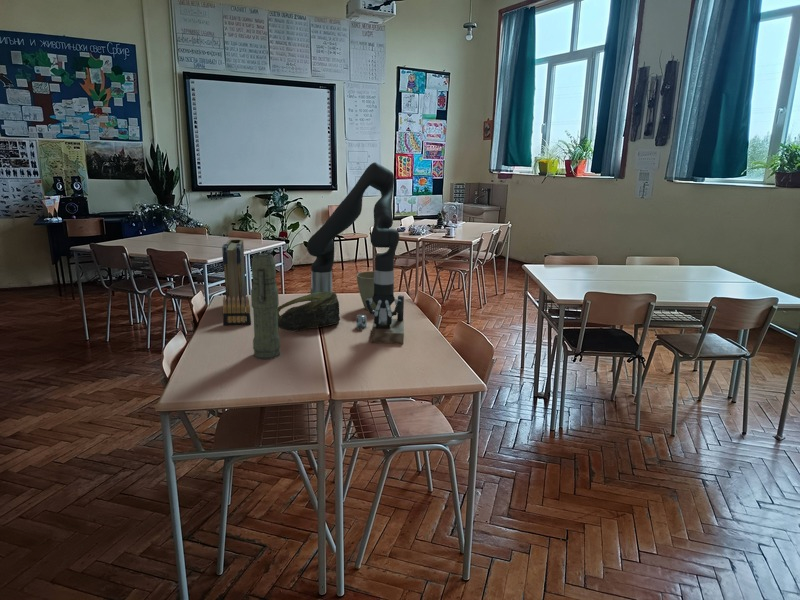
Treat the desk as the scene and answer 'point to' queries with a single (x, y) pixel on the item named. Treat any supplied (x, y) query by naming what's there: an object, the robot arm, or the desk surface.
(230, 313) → the ammunition clip
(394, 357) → the desk surface
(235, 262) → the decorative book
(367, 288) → the plant pot
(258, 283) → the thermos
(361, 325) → the short pin
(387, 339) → the hole board
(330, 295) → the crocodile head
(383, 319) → the tall pin
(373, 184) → the robot arm
